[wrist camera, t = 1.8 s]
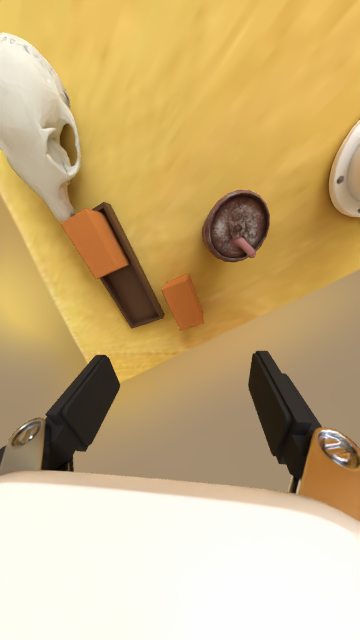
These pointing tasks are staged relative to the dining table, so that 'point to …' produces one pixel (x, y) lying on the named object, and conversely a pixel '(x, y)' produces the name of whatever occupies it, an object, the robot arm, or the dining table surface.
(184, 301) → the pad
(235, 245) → the can
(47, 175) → the animal skull
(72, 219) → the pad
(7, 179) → the dining table surface
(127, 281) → the frame
